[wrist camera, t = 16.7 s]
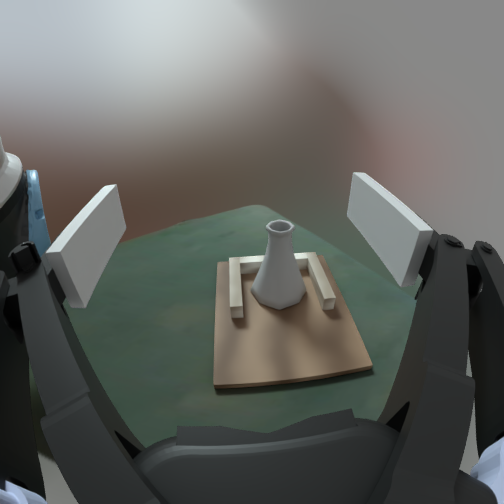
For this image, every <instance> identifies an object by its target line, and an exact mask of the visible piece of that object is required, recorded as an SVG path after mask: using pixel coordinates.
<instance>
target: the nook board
mask: <svg viewBox="0 0 504 504" xmlns="http://www.w3.org/2000/svg"><path fill="white" fill-rule="evenodd" d="M294 256H295V259H296V262H297V265H298V268H299V271H300V273H301V276H302V278H303V281H304V284H305V286H306V289H307V290H306V292H305V294H304V295H303V297H302V299H301V300H300V302H299V303H297V304H294V305H292V306H289V307H286V308H283V309H281V310H278V309H275V308H272V307H269V306H266V305H264V304H261V303H259V302H258V301H257V299H256V298H255V296H254V295H253V293H252V292H251V290H250V289H251V287H252V285H253V282H254V280H255V278H256V276H257V274H258V271H259V269H260V267H261V264H262V262H263V259H264V257H265V256H249V257H234V258H229V261H228V262H218V266H217V286H216V310H215V340H214V388H215V389H216V388H239V387H254V386H266V385H277V384H286V383H294V382H302V381H309V380H316V379H322V378H328V377H334V376H339V375H345V374H350V373H355V372H360V371H364V370H369V369H371V367H372V362H371V360H370V357H369V355H368V353H367V350H366V348H365V346H364V343H363V341H362V339H361V336H360V334H359V332H358V329H357V327H356V325H355V323H354V320H353V318H352V316H351V314H350V312H349V309H348V307H347V305H346V303H345V301H344V299H343V297H342V294H341V292H340V290H339V288H338V286H337V284H336V282H335V280H334V278H333V276H332V273H331V271H330V269H329V267H328V265H327V263H326V261H325V259H324V257H323V255H316V253H315V252H309V253H295V254H294Z"/></svg>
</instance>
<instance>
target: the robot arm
mask: <svg viewBox="0 0 504 504" xmlns="http://www.w3.org/2000/svg"><path fill="white" fill-rule="evenodd" d="M347 216H348V218H349V219H350V220H351V221H352V223H353V224H354V225H355V226H356V228H357V229H358V230H359V231H360V233H361V234H362V235H363V236H364V238H365V239H366V240H367V241H368V243H369V244H370V246H371V247H372V248H373V249H374V251H375V252H376V253H377V255H378V256H379V257H380V259H381V260H382V262H383V263H384V264H385V266H386V267H387V268H388V270H389V271H390V273H391V274H392V275H393V277H394V278H395V280H396V281H397V283H398V284H399V285H400V287H404V286H410V285H414V284H415V281H416V279H417V276H418V273H419V274H420V276H421V277H422V278H423V280H422V282H421V285H420V287H419V289H418V292H417V294H416V296H415V300H417V303H416V308H415V312H414V316H413V320H412V325H411V328H410V332H409V336H408V340H407V343H406V347H405V350H404V354H403V357H402V360H401V363H400V366H399V370H398V373H397V375H396V378H395V381H394V384H393V387H392V390H391V392H390V395H389V398H388V400H387V403H386V405H385V408H384V410H383V412H382V414H381V415H380V417H379V418H378V420H377V421H373V420H369V419H361V418H354V415H353V412H352V409H347V410H343V411H338V412H334V413H329V414H324V415H319V416H313V417H310V418H308V419H305V420H303V421H300V422H298V423H295V424H293V425H290V426H288V427H285V428H282V429H280V430H277V431H274V432H271V433H260V432H252V431H246V430H239V429H233V428H228V427H222V426H177V436H175V437H170V438H167V439H164V440H161V441H159V442H157V443H154V444H152V445H151V446H149V447H147V448H145V447H144V446H143V445H142V444H141V443H140V442H139V441H138V439H137V438H136V437H135V436H134V435H133V433H132V432H131V431H130V429H129V428H128V427H127V425H126V424H125V422H124V421H123V419H122V418H121V416H120V415H119V413H118V411H117V410H116V408H115V407H114V405H113V404H112V402H111V400H110V399H109V397H108V395H107V394H106V392H105V390H104V388H103V387H102V385H101V383H100V381H99V380H98V378H97V376H96V374H95V372H94V370H93V368H92V367H91V365H90V363H89V361H88V359H87V357H86V355H85V353H84V351H83V349H82V346H81V344H80V342H79V340H78V338H77V336H76V333H75V331H74V329H73V326H72V324H71V322H70V319H69V317H68V314H67V312H66V310H65V308H64V306H63V304H62V303H63V301H64V299H65V297H66V299H67V300H68V302H69V304H70V306H71V308H86V306H87V303H88V301H89V299H90V297H91V295H92V293H93V291H94V288H95V286H96V284H97V282H98V280H99V278H100V276H101V274H102V272H103V270H104V268H105V266H106V264H107V262H108V260H109V259H110V257H111V255H112V253H113V251H114V249H115V247H116V245H117V244H118V242H119V240H120V238H121V236H122V235H123V233H124V231H125V229H126V225H125V221H124V216H123V212H122V208H121V203H120V199H119V194H118V189H117V185H109V186H104V187H103V188H102V189H101V190H100V191H99V192H98V194H96V195H95V197H93V199H92V200H91V201H90V202H89V203H88V204H87V205H86V206H85V207H84V208H83V209H82V210H81V211H80V213H79V214H78V215H77V216H76V217H75V218H74V219H73V220H72V221H71V223H70V224H69V225H68V226H67V227H66V228H65V230H64V231H63V232H61V233H60V234H59V235H58V236H57V237H56V238H55V240H54V242H52V244H51V243H50V238H49V235H48V230H47V226H46V221H45V217H44V211H43V206H42V200H41V193H40V187H39V180H38V173H37V171H36V170H27V171H26V172H24V171H23V167H22V164H21V161H20V159H19V158H18V157H17V156H15V155H13V154H10V153H6V152H4V149H3V145H2V141H1V137H0V504H48V503H47V502H46V495H45V488H44V481H43V477H42V472H41V467H40V462H39V458H38V453H37V447H36V442H35V435H34V429H33V421H32V412H31V401H30V385H29V360H30V364H31V368H32V371H33V375H34V378H35V382H36V385H37V388H38V392H39V395H40V398H41V401H42V404H43V406H44V409H45V412H46V416H44V417H43V418H41V421H40V424H41V427H42V431H43V433H44V436H45V438H46V441H47V443H48V446H49V448H50V450H51V452H52V455H53V457H54V459H55V461H56V463H57V465H58V467H59V469H60V471H61V473H62V475H63V477H64V479H65V481H66V482H67V484H68V486H69V488H70V490H71V492H72V493H73V495H74V497H75V498H76V500H77V502H78V503H79V504H504V264H503V262H502V260H501V258H500V257H499V255H498V253H497V252H496V250H495V249H494V248H493V247H492V246H491V245H490V244H488V243H487V242H482V241H476V242H475V245H474V247H473V250H469V249H465V248H464V245H463V244H462V242H461V241H459V240H458V239H457V238H455V237H453V236H450V235H447V234H441V235H439V234H438V233H437V232H436V231H435V230H434V229H433V228H432V227H431V226H429V225H428V224H427V223H426V222H425V221H424V220H422V218H421V217H419V216H418V215H417V214H416V213H414V212H413V211H412V210H410V209H409V208H408V207H407V206H406V205H405V204H403V203H402V202H401V201H400V200H399V199H397V198H396V197H395V196H394V195H392V194H391V193H390V192H389V191H388V190H386V189H385V188H384V187H382V186H381V185H380V184H378V183H377V182H376V181H375V180H373V179H372V178H371V177H369V176H368V175H367V174H365V173H356V172H353V176H352V184H351V192H350V198H349V205H348V212H347ZM482 287H483V288H482ZM481 289H482V291H481ZM480 291H481V292H480ZM468 351H469V357H470V364H471V371H472V377H469V376H466V368H467V355H468ZM474 400H475V417H476V440H477V449H478V455H479V463H477V464H476V465H474V466H473V468H472V470H471V476H470V475H468V474H467V473H465V472H463V471H461V470H459V467H460V464H461V461H462V457H463V453H464V449H465V445H466V440H467V436H468V432H469V426H470V421H471V415H472V409H473V403H474Z"/></svg>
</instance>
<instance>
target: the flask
mask: <svg viewBox="0 0 504 504" xmlns="http://www.w3.org/2000/svg"><path fill="white" fill-rule="evenodd" d="M294 229H295V226H294V225H293V224H292V223H290V222H288V221H284V220H276V221H272V222H270V223H269V224H267V225H266V230H267V231H268V245H267V250H266V254H265V257H264V259H263V262H262V264H261V267H260V269H259V271H258V274H257V276H256V278H255V280H254V282H253V285H252V287H251V289H250V290H251V292H252V293H253V295H254V296H255V298H256V299H257V301H258V302H259V303H261V304H264V305H266V306H269V307H272V308H275V309H278V310H281V309H283V308H286V307H289V306H292V305H294V304H297V303H299V302H300V300H301V299H302V297H303V295H304V294H305V292H306V290H307V289H306V286H305V284H304V281H303V278H302V276H301V273H300V271H299V268H298V265H297V262H296V259H295V256H294V252H293V246H292V232H293V231H294Z"/></svg>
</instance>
